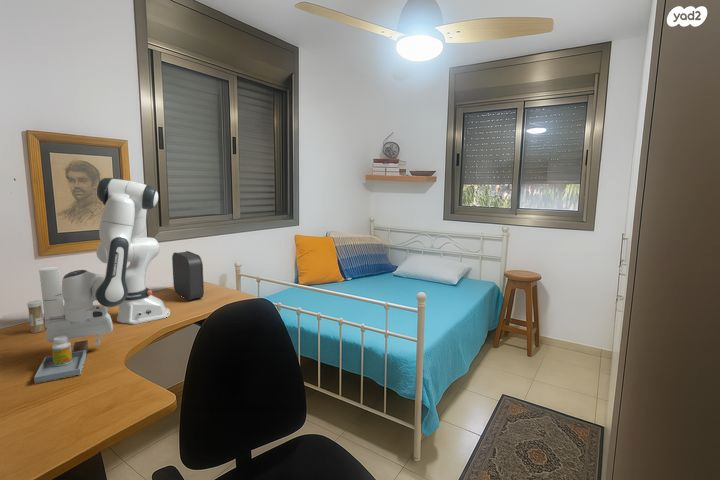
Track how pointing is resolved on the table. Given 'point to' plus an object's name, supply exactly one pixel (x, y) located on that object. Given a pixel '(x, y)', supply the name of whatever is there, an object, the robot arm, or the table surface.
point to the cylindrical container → (51, 292)
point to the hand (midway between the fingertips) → (82, 347)
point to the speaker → (188, 275)
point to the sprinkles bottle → (35, 316)
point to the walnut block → (81, 346)
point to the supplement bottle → (61, 351)
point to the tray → (60, 368)
